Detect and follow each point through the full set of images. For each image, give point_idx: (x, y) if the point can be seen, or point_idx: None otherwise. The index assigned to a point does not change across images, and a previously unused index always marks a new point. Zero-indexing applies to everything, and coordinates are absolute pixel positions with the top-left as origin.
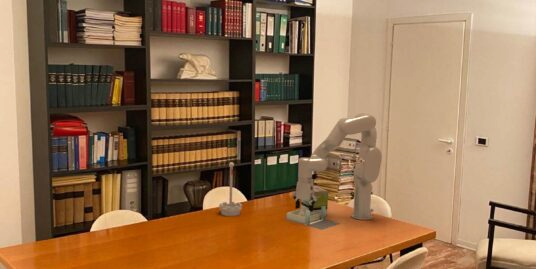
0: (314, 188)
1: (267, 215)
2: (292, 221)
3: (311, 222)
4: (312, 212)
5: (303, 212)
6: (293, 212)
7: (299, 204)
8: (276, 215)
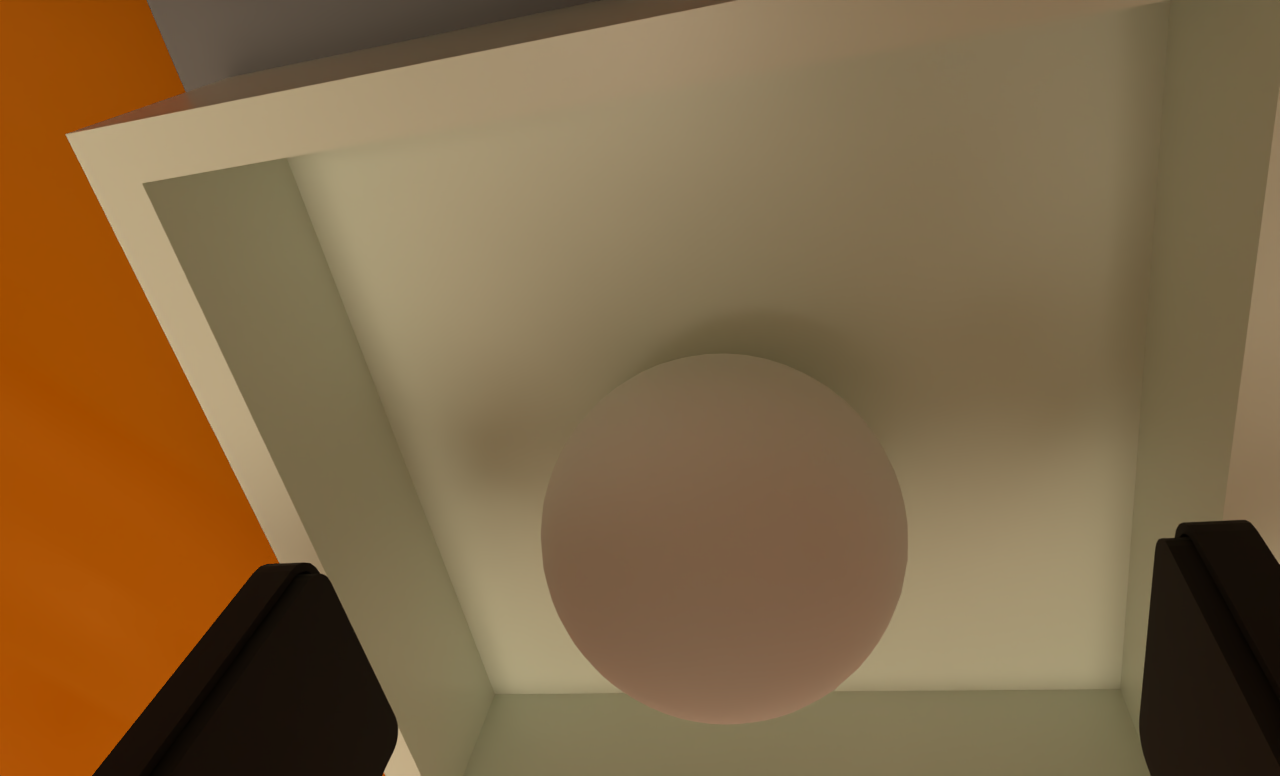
0: None
1: (78, 754)
2: None
3: None
4: (782, 63)
5: (825, 694)
6: (377, 626)
7: (244, 721)
8: (114, 646)
